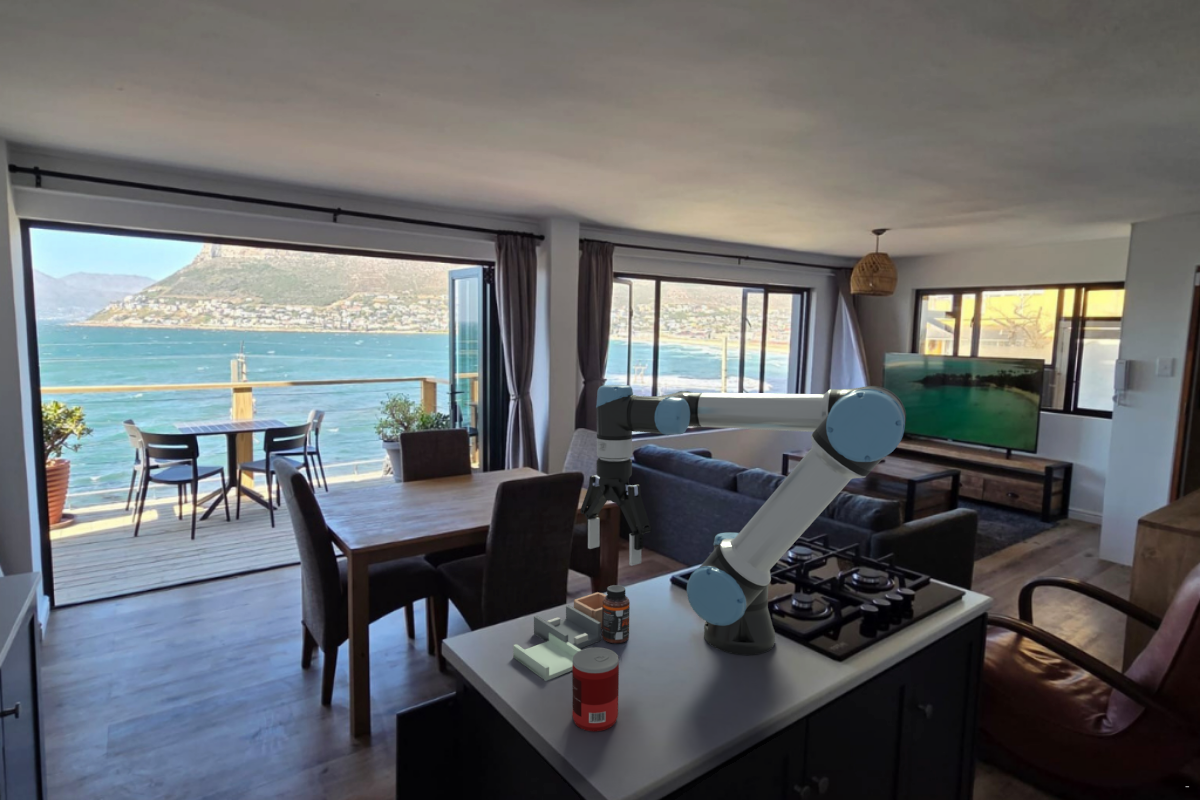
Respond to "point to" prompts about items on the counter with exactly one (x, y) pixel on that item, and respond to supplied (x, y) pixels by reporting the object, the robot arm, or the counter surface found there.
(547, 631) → the checker cradle
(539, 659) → the trough
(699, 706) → the counter surface
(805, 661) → the counter surface
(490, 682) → the counter surface
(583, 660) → the canned food
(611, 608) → the supplement bottle
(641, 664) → the counter surface
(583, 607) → the open cardboard box
